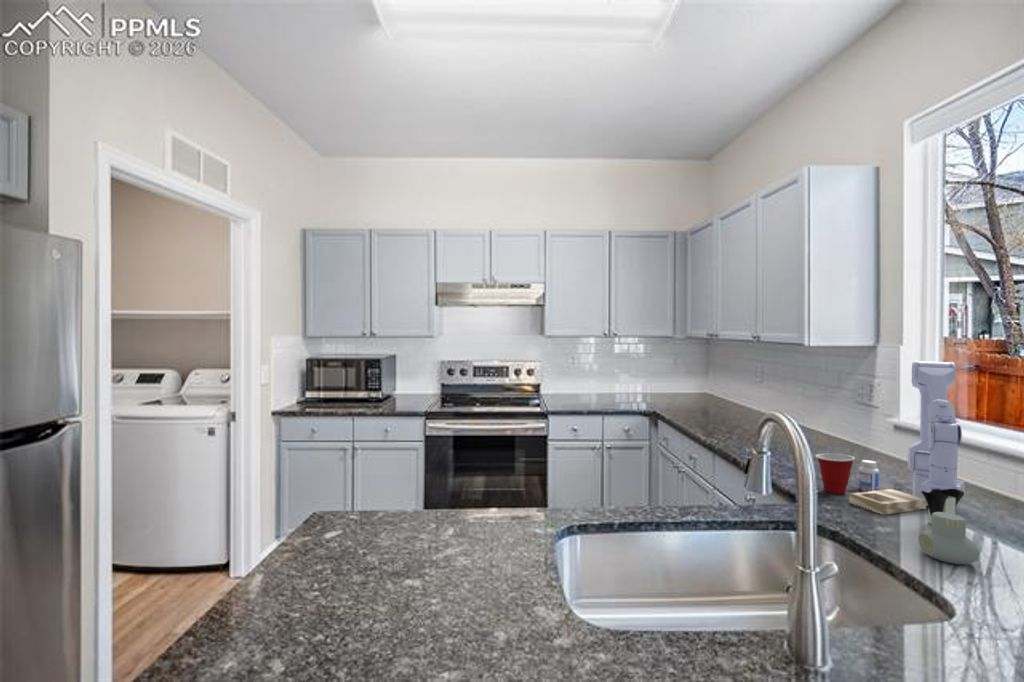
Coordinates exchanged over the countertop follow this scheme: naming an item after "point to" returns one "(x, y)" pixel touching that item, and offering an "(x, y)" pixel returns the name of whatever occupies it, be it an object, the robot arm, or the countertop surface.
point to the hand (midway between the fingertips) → (941, 516)
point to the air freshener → (948, 540)
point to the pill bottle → (868, 476)
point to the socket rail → (887, 501)
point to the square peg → (946, 507)
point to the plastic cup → (835, 471)
